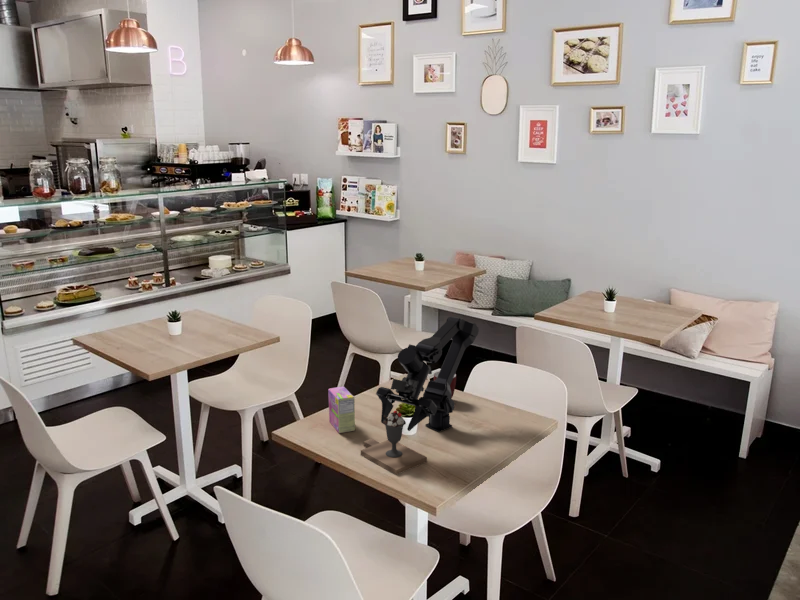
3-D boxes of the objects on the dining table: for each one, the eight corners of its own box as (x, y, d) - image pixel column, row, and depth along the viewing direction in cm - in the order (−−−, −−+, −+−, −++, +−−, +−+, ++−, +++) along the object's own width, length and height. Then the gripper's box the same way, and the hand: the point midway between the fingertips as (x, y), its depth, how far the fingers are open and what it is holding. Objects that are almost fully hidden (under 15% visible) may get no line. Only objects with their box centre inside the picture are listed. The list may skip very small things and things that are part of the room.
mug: (444, 409, 233) (445, 382, 230) (425, 404, 237) (425, 377, 235) (459, 400, 241) (460, 374, 239) (440, 395, 245) (441, 369, 243)
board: (352, 450, 201) (352, 445, 201) (382, 439, 209) (382, 434, 209) (396, 474, 187) (396, 470, 186) (426, 461, 195) (426, 457, 194)
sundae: (410, 453, 196) (410, 406, 193) (393, 461, 191) (394, 412, 188) (394, 446, 201) (394, 400, 197) (378, 453, 196) (378, 406, 192)
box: (328, 421, 222) (328, 388, 219) (344, 418, 224) (344, 385, 221) (338, 434, 212) (337, 399, 209) (355, 431, 214) (354, 396, 212)
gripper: (379, 361, 200) (357, 407, 194) (432, 373, 190) (411, 422, 184) (393, 378, 208) (373, 423, 202) (445, 391, 198) (426, 438, 192)
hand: (395, 426), depth 195 cm, fingers open, 9 cm apart
